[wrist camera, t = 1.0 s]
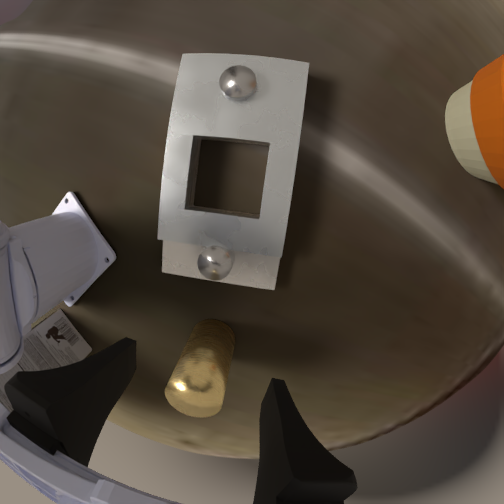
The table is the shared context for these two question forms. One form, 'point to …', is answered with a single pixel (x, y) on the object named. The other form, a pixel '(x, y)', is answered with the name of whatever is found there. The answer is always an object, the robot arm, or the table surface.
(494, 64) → the reusable coffee cup
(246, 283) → the square-hole plate
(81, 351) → the coffee box
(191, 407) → the brass pin
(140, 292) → the table surface
